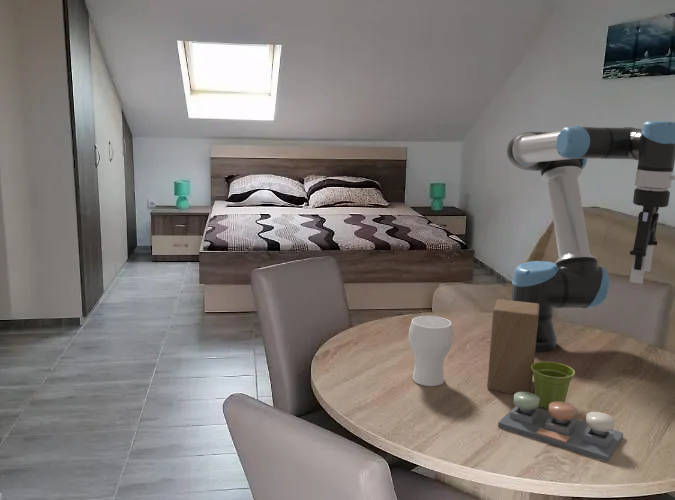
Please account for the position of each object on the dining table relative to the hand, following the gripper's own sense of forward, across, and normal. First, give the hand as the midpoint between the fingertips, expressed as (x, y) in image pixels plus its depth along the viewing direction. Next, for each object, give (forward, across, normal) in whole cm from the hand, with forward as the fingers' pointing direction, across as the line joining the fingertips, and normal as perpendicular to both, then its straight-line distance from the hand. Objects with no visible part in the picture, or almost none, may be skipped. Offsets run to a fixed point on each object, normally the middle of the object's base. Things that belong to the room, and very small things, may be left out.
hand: (640, 276), depth 153 cm
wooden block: (+27, -20, +23) cm, 41 cm away
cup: (+27, -29, +41) cm, 57 cm away
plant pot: (+27, -25, +12) cm, 39 cm away
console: (+26, -37, +7) cm, 46 cm away
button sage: (+24, -37, +15) cm, 46 cm away
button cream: (+24, -38, 0) cm, 45 cm away
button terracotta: (+24, -37, +7) cm, 45 cm away
